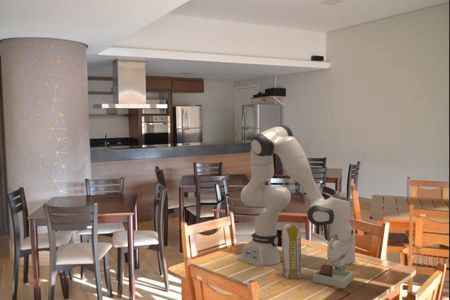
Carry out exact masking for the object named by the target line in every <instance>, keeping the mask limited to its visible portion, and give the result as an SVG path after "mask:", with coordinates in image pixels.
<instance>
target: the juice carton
mask: <svg viewBox="0 0 450 300" xmlns="http://www.w3.org/2000/svg"><path fill="white" fill-rule="evenodd" d="M282 226H283V229H282V247H281V257H282V258H281V263H282V272H283V273H284V276H285V278H286V279H300V278H301V274H302V238H301V237H302V236H301V235H302V234H301V231H300V228H299V227H298V225H296V224H290V223H286V224H283V225H282Z"/></svg>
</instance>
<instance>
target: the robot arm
mask: <svg viewBox="0 0 450 300" xmlns="http://www.w3.org/2000/svg"><path fill="white" fill-rule="evenodd" d="M249 146H250V166H251V169H250V170H251V177H250V180H249V182H248V184H246V185H245V186H244V187H243V188H242V189H241V192H240V200H241V203H242V204H243V205H245V206H250V207H260V208H265V209H266V210H265V212H262V213H260V214H259V215H257V216H256V217H255V219H254V231H255V232H254V233H252V234H251V235H250V237H251V238H252V239H251V240H250V241H248V242H247V243H246V244H245V245H244V246H243V247H242V249H241V253H240V254H238V256H237V258H236V259H237V260H238V261H241V262H244V263H247V264H250V265H253V266H257V267H260V266H272V265H277V264H279V263H280V262H282V259H281V257H280V254H279V253H280V252H279V246H277V245H278V234H277V226H278V219H279V215H280V213H281V212H282V211H283V210H284V209H285V208H286V207H287V206H288V205H289V204H290V202H291V199H292V195H291V191H290V190H289V189H288V187H285V186H281V185H265V184H264V183H266V182H268V181H270V180H271V179H272V178H273V177H274V174H275V167H274V166H275V165H274V156H273V154H274V155H275V154H276V155H277V156H278V157H279V159H280V162H281V164H282V166H283V169H284V170H285V172H286V174H287V175H288V177H289V178H290V179H292V180H294V181H296V182H297V183H299V184H300V186H301V187H302V189H303V190H304V192H305V194H306V197H307V199H308V200H309V204H310V207H309V208H308V210H307V214H306V215H307V219H308V221H309V222H310V223H311V224H312V225H314V226H326V225H327V226H329V238H330V240H329V241H328V243H327V248H326V249H327V250H326V256H327V257H326V258H327V259H328V260H331V261H334V267H335V266H336V267H339V266H340V262H339V257H341V256H344V257H345V258H346V252H348V251H349V250H351V249H352V244H353V234H354V232H355V230H354V229H353V228H352V229H351V226H352V225H351V224H350V221H351V205H350V203H351V202H350V201H349V199H348V198H347V197H344V196H342V195H332V196H330V197H329V198H327V199H326V198H325V196H323V194H322V192H321V190H320V189H319V187H318V183H316V181H315V178H314V176H313V171H312V169H311V165H310V162H309V160H308V157H307V155H306V153H305V151H304V149H303V147H302V146H301V144H300V143H299V141H298V140H297V138H296V137H294V135H293V131H292V130H291V128H290V127H288V125H283V124H282V125H277V126H274V127H270V128H268V129H266V130H264V131H261V132H260V133H257V134H255V135H254V136H252V137H251V140H250V145H249ZM350 225H351V226H350Z"/></svg>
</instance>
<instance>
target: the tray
mask: <svg viewBox="0 0 450 300" xmlns="http://www.w3.org/2000/svg"><path fill="white" fill-rule="evenodd" d="M354 275H355V273H354V271H350V270H346V269H345V270H336V269H335V267H333V277H328V276H324V275H321V267H320V268H319V269H318V270H316V271H315V272H314V273H313V274H312V281H313V283H318V284H323V285H328V286H332V287H336V288H340V289H345V288H346V287H347V286H348V285H349V284H351V282H353V280H354V277H355V276H354Z"/></svg>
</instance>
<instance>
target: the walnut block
mask: <svg viewBox="0 0 450 300" xmlns="http://www.w3.org/2000/svg"><path fill="white" fill-rule="evenodd" d="M320 268H321V275H324V276H328V277H333V268H334V267H333V265H330V264H326V263H324V264H322V265H321V266H320Z"/></svg>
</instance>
